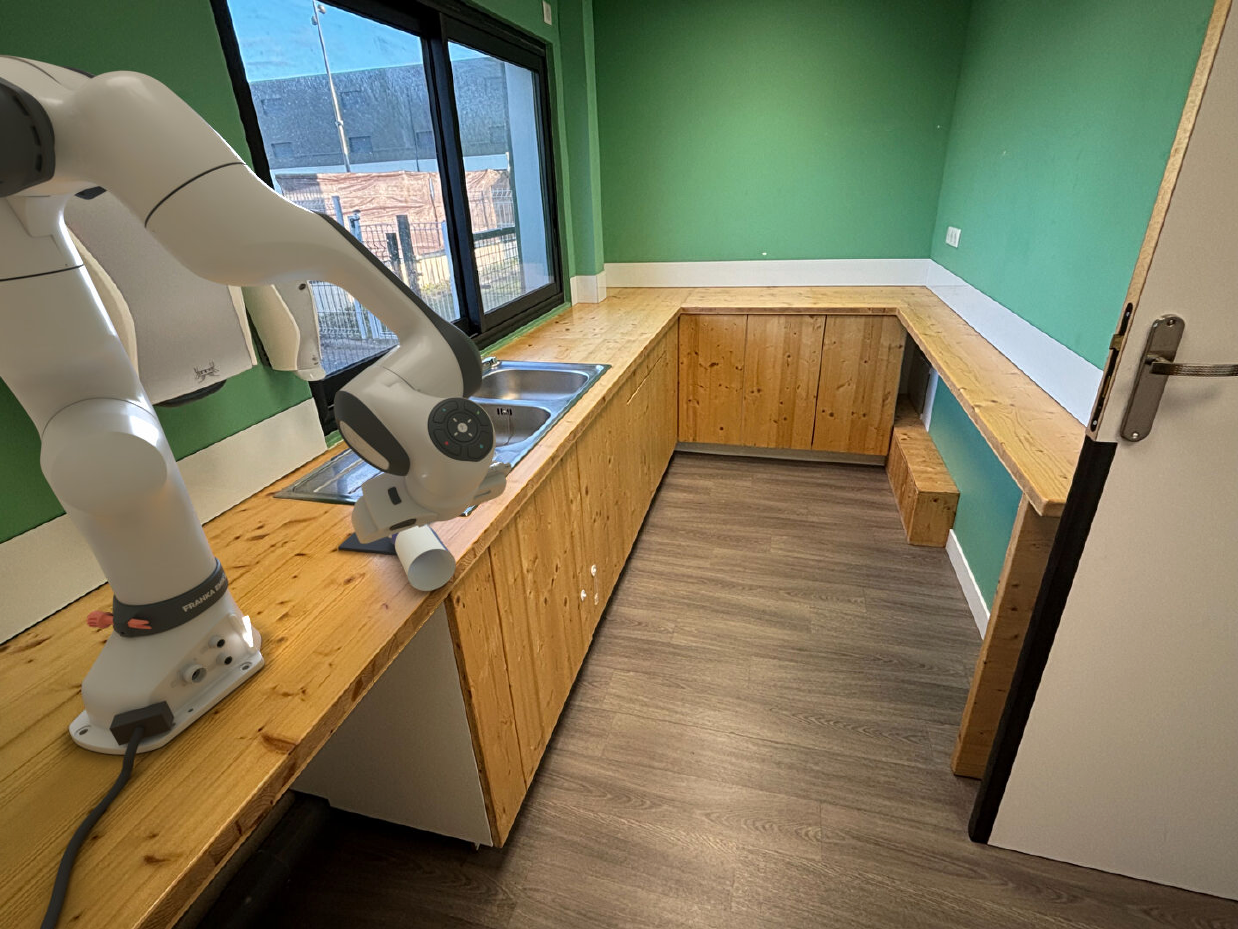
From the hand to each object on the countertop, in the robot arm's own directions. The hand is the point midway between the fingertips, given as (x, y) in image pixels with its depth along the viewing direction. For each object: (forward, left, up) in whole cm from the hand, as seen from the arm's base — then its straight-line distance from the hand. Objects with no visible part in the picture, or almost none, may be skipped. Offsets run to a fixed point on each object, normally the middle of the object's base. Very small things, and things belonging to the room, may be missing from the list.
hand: (426, 519), depth 86 cm
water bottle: (+4, +3, -12) cm, 13 cm away
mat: (+18, +21, -16) cm, 32 cm away
